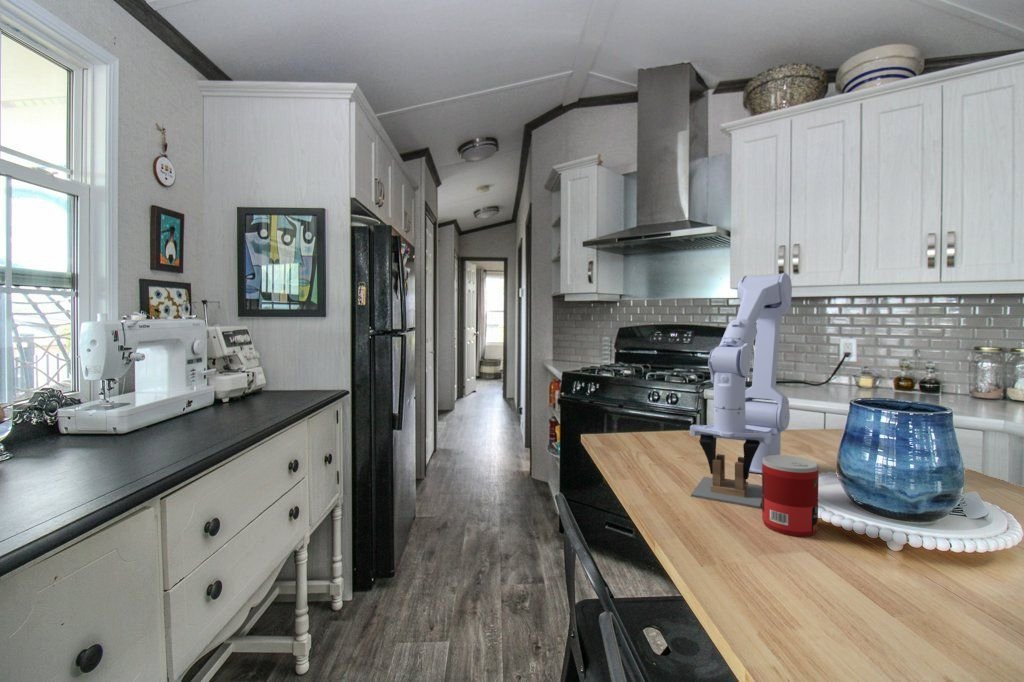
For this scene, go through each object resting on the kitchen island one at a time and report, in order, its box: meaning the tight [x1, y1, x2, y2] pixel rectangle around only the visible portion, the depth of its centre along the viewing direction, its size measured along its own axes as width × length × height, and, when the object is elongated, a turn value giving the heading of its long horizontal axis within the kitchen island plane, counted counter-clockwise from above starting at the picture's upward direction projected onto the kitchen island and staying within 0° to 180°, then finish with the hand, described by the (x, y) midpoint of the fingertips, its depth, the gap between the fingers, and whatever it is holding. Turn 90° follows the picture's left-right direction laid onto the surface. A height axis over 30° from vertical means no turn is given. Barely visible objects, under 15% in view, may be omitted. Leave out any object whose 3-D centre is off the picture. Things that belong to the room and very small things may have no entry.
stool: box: [711, 453, 749, 497], centre depth 95 cm, size 6×6×6 cm
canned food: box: [761, 454, 819, 537], centre depth 79 cm, size 8×8×11 cm
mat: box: [690, 476, 762, 509], centre depth 95 cm, size 12×12×1 cm
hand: (729, 475), depth 95 cm, fingers closed on stool, 5 cm apart
